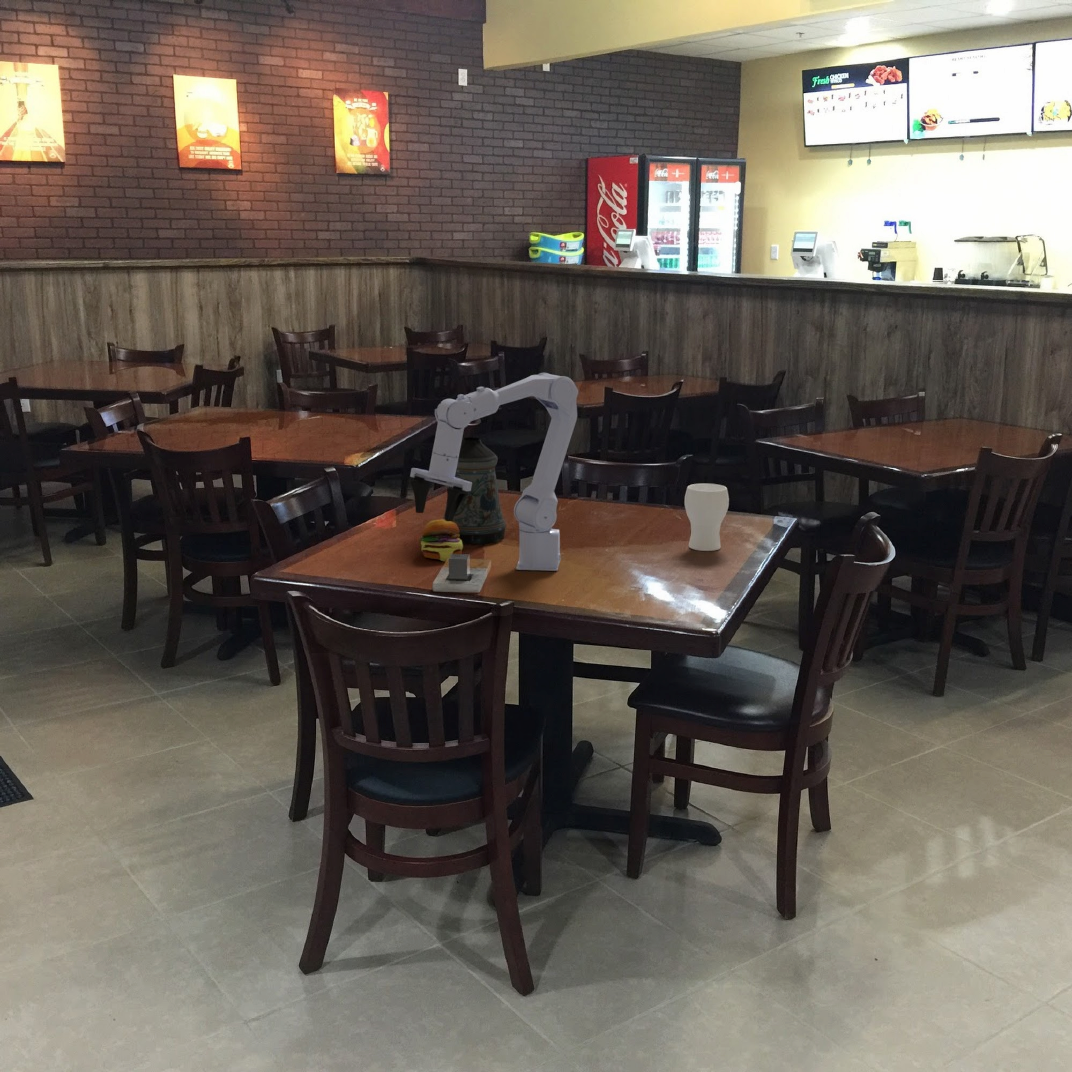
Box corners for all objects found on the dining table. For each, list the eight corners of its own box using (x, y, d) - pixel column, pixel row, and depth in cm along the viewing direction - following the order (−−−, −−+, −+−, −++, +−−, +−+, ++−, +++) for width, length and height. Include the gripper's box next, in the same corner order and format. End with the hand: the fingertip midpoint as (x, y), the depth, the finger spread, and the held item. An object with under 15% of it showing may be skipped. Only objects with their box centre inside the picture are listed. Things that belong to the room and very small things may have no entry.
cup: (725, 554, 271) (728, 492, 267) (681, 551, 273) (683, 490, 269) (727, 543, 281) (730, 483, 278) (684, 540, 283) (686, 482, 280)
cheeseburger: (425, 563, 262) (421, 520, 262) (417, 562, 272) (414, 521, 272) (467, 559, 264) (464, 517, 264) (459, 559, 275) (455, 518, 274)
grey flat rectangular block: (491, 566, 260) (491, 559, 259) (479, 592, 240) (479, 584, 240) (448, 565, 260) (447, 558, 260) (432, 591, 241) (432, 583, 241)
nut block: (470, 583, 247) (469, 554, 246) (467, 588, 244) (467, 559, 242) (451, 582, 248) (451, 553, 246) (449, 587, 244) (448, 558, 242)
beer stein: (477, 549, 275) (476, 447, 269) (418, 536, 286) (416, 439, 280) (519, 535, 288) (519, 438, 281) (461, 524, 299) (460, 430, 293)
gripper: (407, 447, 242) (396, 509, 244) (464, 461, 236) (452, 524, 238) (425, 448, 248) (414, 508, 250) (481, 462, 242) (469, 524, 244)
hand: (433, 516), depth 244 cm, fingers open, 7 cm apart
